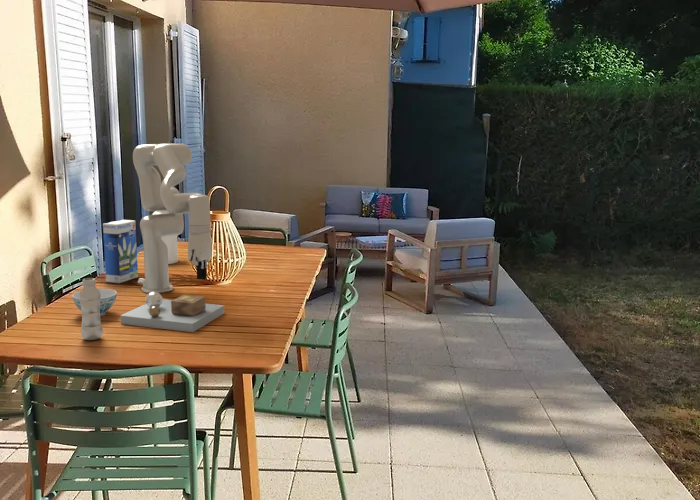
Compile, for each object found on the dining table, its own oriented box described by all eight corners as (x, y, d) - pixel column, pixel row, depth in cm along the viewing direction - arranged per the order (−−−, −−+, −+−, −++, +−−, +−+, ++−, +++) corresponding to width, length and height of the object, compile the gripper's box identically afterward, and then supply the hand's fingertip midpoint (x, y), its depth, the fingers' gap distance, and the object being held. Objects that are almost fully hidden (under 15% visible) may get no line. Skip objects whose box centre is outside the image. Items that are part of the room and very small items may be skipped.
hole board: (120, 323, 224) (120, 315, 223) (157, 305, 246) (157, 298, 245) (192, 332, 216) (192, 323, 216) (224, 313, 238) (224, 305, 238)
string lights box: (119, 283, 277) (116, 224, 272) (105, 282, 279) (101, 223, 274) (138, 276, 289) (136, 220, 284) (124, 275, 291) (121, 219, 286)
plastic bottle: (84, 335, 211) (80, 276, 207) (106, 335, 211) (102, 276, 207) (78, 342, 205) (74, 281, 201) (100, 342, 205) (96, 281, 201)
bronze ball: (146, 317, 221) (146, 307, 220) (153, 314, 225) (152, 304, 224) (156, 319, 220) (156, 308, 219) (162, 315, 224) (162, 305, 223)
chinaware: (75, 322, 224) (74, 301, 223) (72, 311, 237) (70, 291, 236) (120, 317, 231) (119, 296, 229) (114, 306, 244) (113, 286, 242)
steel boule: (142, 309, 230) (141, 293, 229) (151, 305, 236) (150, 289, 235) (156, 311, 229) (156, 294, 228) (166, 306, 235) (165, 290, 233)
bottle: (147, 260, 323) (145, 204, 317) (175, 258, 329) (173, 203, 323) (151, 266, 310) (149, 208, 305) (180, 263, 316) (178, 207, 311)
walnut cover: (171, 313, 226) (171, 300, 225) (184, 306, 234) (183, 294, 233) (193, 315, 224) (193, 302, 223) (205, 308, 232) (205, 296, 231)
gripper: (200, 225, 240) (202, 273, 243) (179, 231, 226) (182, 282, 229) (219, 226, 238) (220, 275, 241) (199, 232, 224) (201, 284, 227)
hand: (201, 278), depth 235 cm, fingers closed
